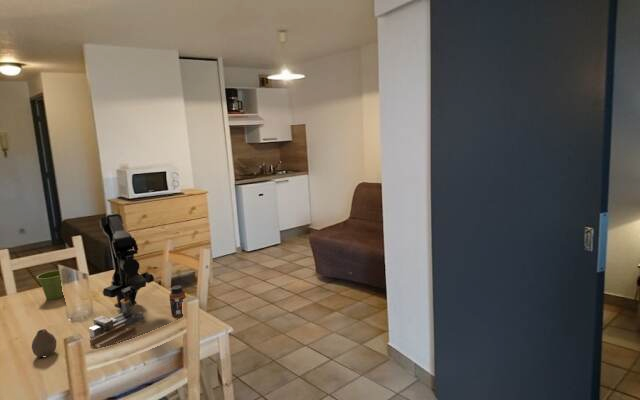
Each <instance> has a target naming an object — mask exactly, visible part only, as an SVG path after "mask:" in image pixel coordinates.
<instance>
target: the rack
mask: <svg viewBox="0 0 640 400" xmlns="http://www.w3.org/2000/svg"><path fill="white" fill-rule="evenodd" d="M136 334H137V329H136V327H135V326H134V327H133V326H132V327H131V328H128V327H127V326H126V324H122V325H120V326H118V327H116V328H114V329H112V330H109V331H107V332H105V333H103V334H101V335H99V336H97V337H94V338H92V337H91V338H90V339H89V345H90V347H92V346H93V348H94V349H97V348H102V347H106V346H109V345H112V344H114V345H116V344H117V343H116V342H118V341H120V340H122V341H124V340H125V338H126V339H128V338H130V337H132V336H134V335H136ZM123 339H124V340H123ZM120 342H121V341H120ZM115 343H116V344H115ZM118 343H119V342H118ZM112 346H113V345H112Z"/></svg>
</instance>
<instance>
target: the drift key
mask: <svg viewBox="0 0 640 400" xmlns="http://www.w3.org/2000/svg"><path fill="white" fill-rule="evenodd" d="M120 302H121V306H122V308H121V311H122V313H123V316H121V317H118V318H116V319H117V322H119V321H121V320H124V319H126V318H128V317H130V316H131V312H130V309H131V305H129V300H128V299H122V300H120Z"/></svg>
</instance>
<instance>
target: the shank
mask: <svg viewBox="0 0 640 400" xmlns="http://www.w3.org/2000/svg"><path fill="white" fill-rule="evenodd" d="M110 318H111V319H112V320H113V324H115V323H117V319H114V318H112V317H110ZM102 329H103V325H102V324H97V325H95V326H94V325H93V326H90V327H89V328H88V332H89V337H91V339H92V338H94V337H97V336H99V335H101V334H103V332H102Z"/></svg>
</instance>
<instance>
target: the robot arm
mask: <svg viewBox="0 0 640 400" xmlns="http://www.w3.org/2000/svg"><path fill="white" fill-rule="evenodd" d="M123 224H124V221H123V216H122V215H121V214H120V213H110V214H109V213H108V214H107V215H105V216H103V217H101V218H99V226H100V229H101V230H102V233H103V234H104V235H105V236H106V237H107V238H108V242H109V248H110V252H111V257H112V264H113V268H114V271H113V275H112V276H111V280H112V281H111V283H110V286H106V287H104V288H103V290H102V294H103V295H102V296H104V297H108V298H112V299H113V298H116V303H115V304H114V307H117V308H121V309H122V306H121V302H120V300H122V299H128V300H129V305H130V306H135V304H136V303H137V301H136V299H137V298H136V297H137V294H138V291H140V289H142V288H145V287H147V284H150V283H152V282H154V281H155V276H154V275H153V274H151V273H149V272H147V271H146V272H144V273H139V270H140V262H139V261H138V260H137V259H136V258H135V255H137V254H138V253H139V246H138V244H137V240H136V239H135V237H133V236H132V234H131V233H130V232H128V231H126V229H125V227H124V225H123Z"/></svg>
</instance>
